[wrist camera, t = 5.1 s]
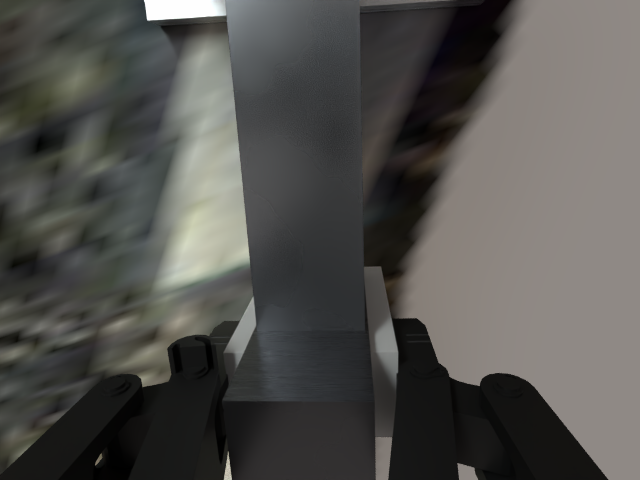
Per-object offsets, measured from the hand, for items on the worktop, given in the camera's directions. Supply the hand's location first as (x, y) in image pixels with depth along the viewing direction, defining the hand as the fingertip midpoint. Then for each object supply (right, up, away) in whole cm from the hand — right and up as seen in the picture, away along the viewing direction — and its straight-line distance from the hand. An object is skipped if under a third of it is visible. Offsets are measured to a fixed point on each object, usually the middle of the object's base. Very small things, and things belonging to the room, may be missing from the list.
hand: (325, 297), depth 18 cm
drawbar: (0, +9, -4) cm, 10 cm away
